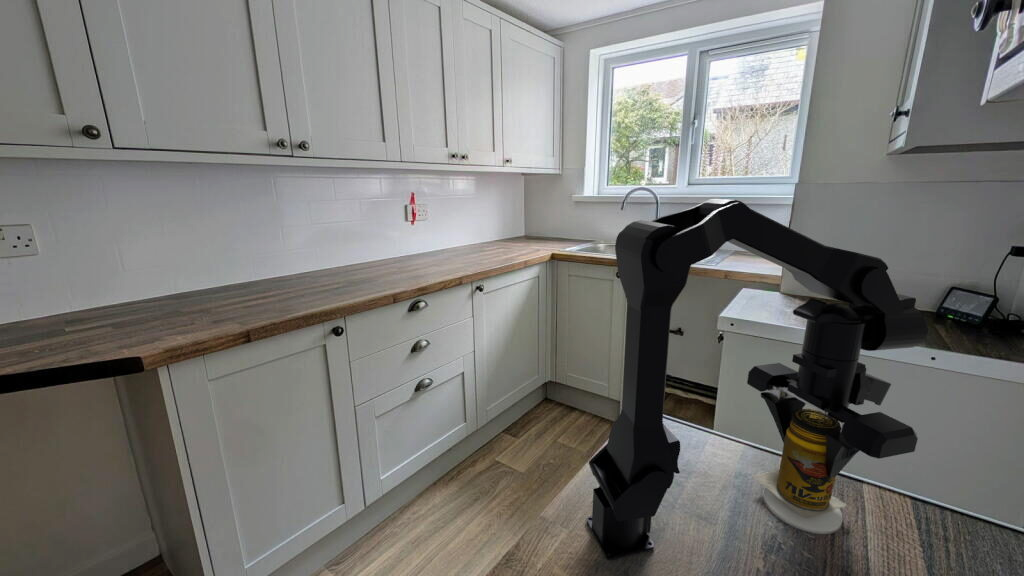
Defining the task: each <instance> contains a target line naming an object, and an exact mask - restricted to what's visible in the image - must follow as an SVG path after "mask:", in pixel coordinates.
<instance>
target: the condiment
mask: <svg viewBox="0 0 1024 576" xmlns="http://www.w3.org/2000/svg"><path fill="white" fill-rule="evenodd" d="M841 428H842V425H841V422H839V421H838V420H836V419H834V418H832V417H830V416H828V415H827V414H824V413H822V412H821V411H819V410H817V409H811V408H802V409H799V410H796V411H794V412H793V414H792V420H791V422H790V427H788V429H787V430H786V434H785V440H784V443H783V446H782V452H781V459H780V465H779V468H777V469H775V470H772V471H771V470H770V471H768V472H762V473H759V474H754V475H753V474H752V475H751V477H752V478H753V479H755V480H756V481H757V482H759V483H760V485H763V486H764V488H765V487H766V488H767V489H769V490H770V491H771V492H772V493H774V494H775V495H776V496H777V497H778V498H779V499H781V500H782V501H783V502H785V503H786V504H787V505H788V506H789V507H791V508H792V509H793V510H795V511H796V512H797V513H798V514H800V515H801V516H802V517H804V518H809V517H812V516H817V515H820V514H824V513H827V512H830V511H833V510H836V509H838V508H839V509H841V508H844V507H847V506H848V505H847V504H846V503H844V502H843V501H841V500H840V499H838V498H837V497H835V496H834V495H833V491H834V485H835V481H836V476H835V477H828V476H827V472H826V434H827V433H832V432H838V431H840V430H841Z"/></svg>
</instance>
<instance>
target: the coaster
mask: <svg viewBox="0 0 1024 576" xmlns="http://www.w3.org/2000/svg"><path fill="white" fill-rule="evenodd" d="M762 498H763V502H764V505H765V506H766V507H767V509H768V510H769V511H770V512H771V513H772V514H773V515H774V516H775V517H777V518H778V519H779V520H781V521H783V522H784V523H786V524H787V525H789V526H791V527H793V528H795V529H798V530H800V531H804V532H807V533H811V534H817V535H829V534H834V533H836V532H838V531H839V530H840V528H841V527H842V523H843V513H842V511H841V508H838V509H836V510H833V511H830V512H827V513H824V514H820V515H817V516H812V517H809V518H804V517H802V516H801V515H800V514H798V513H797V512H796V511H795V510H793V509H792V508H791V507H789V506H788V505H787V504H786V503H785V502H783V501H782V500H781V499H779V498H778V497H777V496H776V495H775V494H774V493H772V492H771V491H770V490H769V489H767V488H766V487H765V486H764V488H763V495H762Z"/></svg>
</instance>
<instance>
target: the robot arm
mask: <svg viewBox="0 0 1024 576" xmlns="http://www.w3.org/2000/svg"><path fill="white" fill-rule="evenodd" d="M615 240H616V241H615V246H614V251H615V259H616V266H617V273H618V277H619V281H620V282H621V283H620V284H621V285H622V289H623V291H624V295H625V298H626V317H625V319H626V320H625V338H624V339H625V340H624V342H625V343H624V360H623V378H622V379H623V381H622V397H621V398H622V400H621V411H620V413H619V415H618V416H617V418H616V419H615V421H614V422H613V423H612V425H611V427H610V432H609V435H608V441H607V443H606V444H605V445H604V446H603V447H602V448H601V449H600V450H598V452H597V453H596V454H595V455H594V456H593V457H591V458H590V460H589V461H588V465H589V468H590V471H591V474H592V475H593V477H594V479H596V481H597V483H598V487H594V488H593V491H592V493H593V494H592V510H591V511H592V513H591V514H592V515H588V516H587V517H586V524H587V525H588V527H589V529H590V532H591V533H592V535H593V537H594V538H595V540H596V542H597V544H598V547H600V550H601V552H602V554H603V556H604V558H606V559H607V560H614V559H618V558H623V557H627V556H632V555H636V554H640V553H644V552H649V551H652V550H654V548H655V544H654V542H653V540H652V538H651V537H650V536H649V534H650V532H651V527H652V517H654V516H656V514H657V512H658V510H659V507H660V505H661V503H662V502H663V499H664V497H665V494H666V493H667V491H668V489H670V488H671V486H672V484H673V482H674V478H675V474H680V473H681V472H680V470H679V464H678V463H679V462H678V461H679V456H680V453H681V442H680V440H679V439H678V438H677V436H675V435H674V433H672V431H671V430H670V429H669V428H668V427H667V426H666V425H665V424H664V409H665V395H666V385H667V383H666V382H667V381H666V380H667V368H668V358H669V357H668V356H669V343H670V331H671V318H672V317H671V316H672V308H673V305H674V304H675V302H676V300H677V299H678V298H679V296H680V294H681V293H682V292H683V290H684V289H685V287H686V285H687V283H688V278H689V275H690V271H691V267H692V265H695V264H697V263H699V262H701V261H704V260H705V259H708V258H710V257H712V256H713V255H714V254H715V253H716V252H717V251H718V250H720V248H721V247H722V246H723V245H725V244H726V243H727V242H728V243H729V244H732V245H733V246H736V247H738V248H740V249H743V250H745V251H747V252H749V253H751V254H753V255H756V256H757V257H760V258H762V259H765V260H767V261H768V262H771V263H773V264H775V265H777V266H779V267H782V268H784V269H785V270H786V271H788V272H789V273H790V274H791V275H792V277H793V278H794V280H795V281H796V282H798V283H799V284H800V285H801V286H803V287H805V288H806V289H807V290H808V291H809V292H811V293H813V294H816V295H817V294H818V295H820V296H824V297H827V298H830V299H831V300H832V299H833V300H836V301H839V302H842V303H846V304H849V306H848V305H845V304H842V303H837V302H833V303H832V302H831V303H827V302H826V301H824V300H823V301H822V300H820V299H816V298H813V297H810V298H809V299H808V300H807V301H805V303H803V304H801V305H799V306H797V307H796V308H794V309H793V310H792V314H793V315H794V316H796V317H799V318H801V319H805V320H806V324H805V329H804V336H803V343H802V346H801V347H802V349H801V353H795V354H792V360H791V362H792V363H794V364H796V365H798V371H796V370H795V369H793V368H790V367H789V366H787V365H784V364H783V363H780V362H776V363H768V364H767V363H766V364H760V365H758V364H757V365H754V366H752V368H750V370H749V371H748V373H747V381H746V384H747V385H748V386H750V387H752V388H754V389H755V390H757V391H758V392H761V393H760V397H761V398H762V399H763V400H764V401H765V403H766V405H767V406H766V407H767V408H768V410H769V412H770V414H771V416H772V418H773V420H774V423H775V425H776V428H777V431H778V433H779V436H780V439H781V440H782V441H781V442H782V443H783V444H784V440H785V434H786V430H787V429H788V427H790V422H791V420H792V414H793V412H794V411H796V410H799V409H804V407H805V406H806V404H807V406H810V407H812V408H813V409H814V410H817V411H821V412H822V413H824V414H827V415H828V416H830V417H832V418H834V419H836V420H838V422H839V423H840V424H841V430H840V431H838V432H832V433H827V434H826V472H827V476H828V477H835V476H838V474H840V472H842V470H843V469H844V468H845V467H846V466H847V464H849V462H851V460H852V458H854V456H855V455H857V454H858V453H859V452H861V453H863V454H865V455H867V456H869V457H871V458H875V459H884V458H889V457H894V456H899V455H904V454H910V453H914V452H915V451H916V447H917V444H918V435H917V432H916V431H915V429H914V428H913V427H912V426H910V425H908V424H906V423H904V422H902V421H899V420H897V419H896V418H894V417H892V416H890V415H887V414H885V413H883V412H882V411H878V412H872V413H866V414H861V413H858V412H857V411H855V410H853V409H851V408H849V406H850V405H855V406H861V405H864V402H865V401H869V402H871V403H874V405H876V406H881V405H882V403H883V401H884V399H885V398H886V395H887V393H888V392H889V390H890V388H891V386H892V383H891V382H888V381H886V380H884V379H882V378H879V377H876V376H874V375H872V374H870V373H867V368H866V364H864V363H862V362H859V359H860V354H861V350H863V351H867V352H868V351H869V352H871V351H872V352H873V351H874V352H875V351H884V350H896V349H909V348H911V349H912V348H915V347H918V346H919V345H921V344H923V342H925V341H926V338H927V336H928V334H929V327H928V325H927V320H926V318H925V316H924V315H923V314H922V311H920V310H919V309H918V308H916V307H915V306H916V304H917V299H916V297H913V296H910V295H905V294H899V293H897V291H896V289H895V286H894V284H893V282H892V280H891V277H890V275H889V273H888V270H889V266H888V264H887V262H885V261H884V260H883V259H882V258H880V257H878V256H873V255H868V254H864V253H861V252H856V251H851V250H847V249H843V248H842V249H841V248H838V247H832V246H828V245H825V244H823V243H820V242H818V241H816V240H814V239H813V238H811V237H808V236H807V235H804V234H802V233H800V232H798V231H796V230H794V229H792V228H790V227H788V226H786V225H784V224H782V223H780V222H778V221H776V220H774V219H772V218H770V217H768V216H767V215H764V214H762V213H760V212H758V211H756V210H754V209H752V208H750V207H749V206H748V205H747V204H745V202H743V201H740V200H737V199H724V198H710V199H708V200H706V201H704V202H701V203H699V204H696V205H695V206H692V207H690V208H686V209H682V210H679V211H677V212H676V211H675V212H672V213H668V214H666V215H663V216H659V217H656V218H655V219H653V220H643V219H640V220H635V221H632V222H630V223H629V224H627V225H626V226H624V228H623V229H622V230H621V231H620V232H619V233H618V234H617V236H616V239H615ZM835 478H836V477H835Z"/></svg>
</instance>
